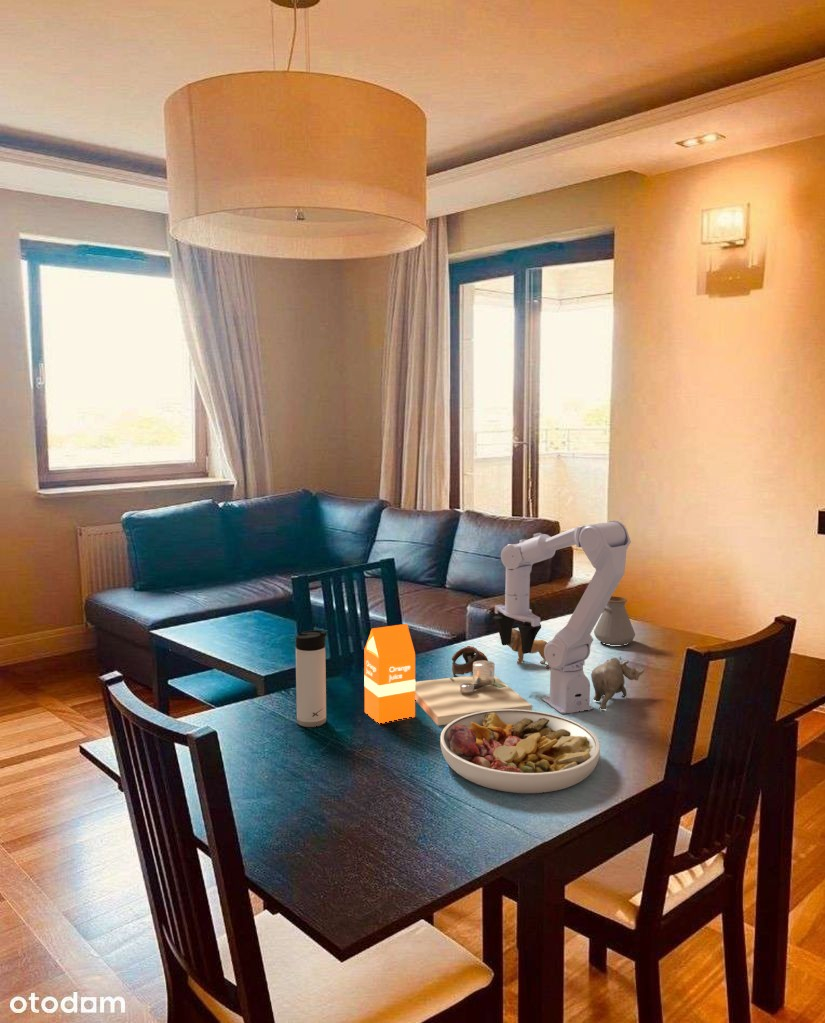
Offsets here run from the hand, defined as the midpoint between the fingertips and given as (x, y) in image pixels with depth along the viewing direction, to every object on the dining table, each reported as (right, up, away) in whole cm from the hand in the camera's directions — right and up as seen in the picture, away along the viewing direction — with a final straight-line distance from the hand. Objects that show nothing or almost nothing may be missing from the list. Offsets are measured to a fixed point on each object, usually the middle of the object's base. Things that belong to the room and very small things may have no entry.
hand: (516, 648), depth 195 cm
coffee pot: (+29, -5, +34) cm, 45 cm away
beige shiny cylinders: (-10, -8, -7) cm, 14 cm away
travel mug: (-46, -12, -21) cm, 52 cm away
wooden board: (-12, -11, -9) cm, 19 cm away
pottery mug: (-10, -8, +10) cm, 17 cm away
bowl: (-5, -15, -40) cm, 43 cm away
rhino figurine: (+21, -11, -7) cm, 25 cm away
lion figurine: (+6, -7, +18) cm, 21 cm away
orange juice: (-30, -12, -17) cm, 36 cm away
